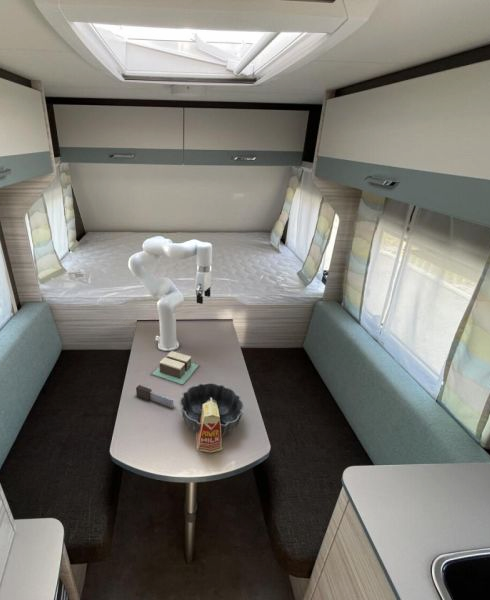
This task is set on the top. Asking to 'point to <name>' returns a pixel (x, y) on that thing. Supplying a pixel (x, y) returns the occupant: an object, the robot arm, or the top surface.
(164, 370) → the cake
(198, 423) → the bundt pan
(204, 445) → the milk carton
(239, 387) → the top surface
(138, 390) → the knife
